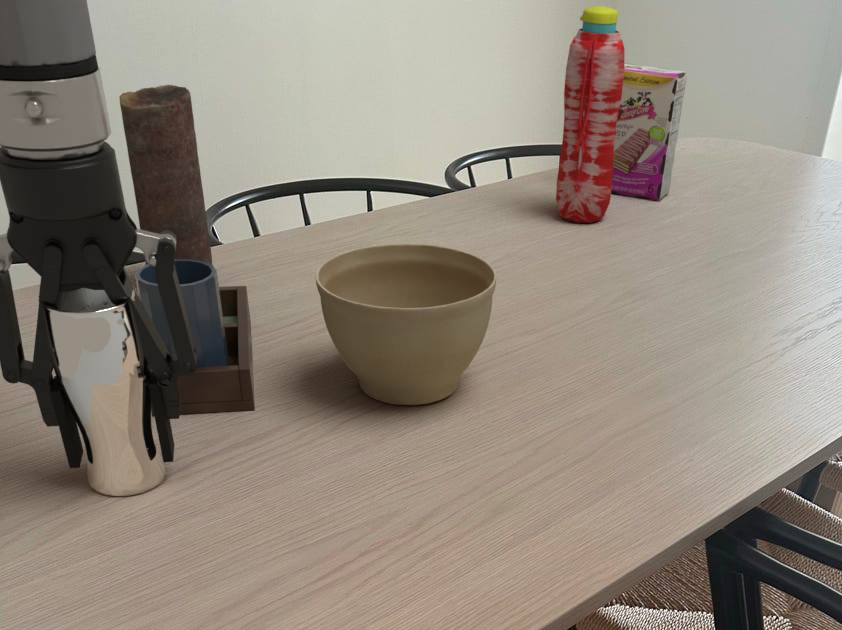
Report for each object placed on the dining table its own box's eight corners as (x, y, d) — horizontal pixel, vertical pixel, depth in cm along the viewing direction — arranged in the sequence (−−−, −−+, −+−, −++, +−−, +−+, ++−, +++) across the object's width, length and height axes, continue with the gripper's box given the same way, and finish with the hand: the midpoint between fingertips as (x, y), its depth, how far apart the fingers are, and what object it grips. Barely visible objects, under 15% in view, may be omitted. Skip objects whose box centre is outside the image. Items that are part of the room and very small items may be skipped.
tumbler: (163, 400, 89) (143, 290, 83) (149, 370, 94) (129, 263, 87) (238, 388, 91) (223, 280, 85) (221, 359, 96) (206, 255, 90)
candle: (226, 290, 113) (200, 94, 100) (164, 302, 109) (129, 101, 97) (200, 270, 117) (172, 80, 105) (140, 281, 114) (103, 86, 101)
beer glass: (88, 506, 77) (40, 319, 67) (78, 464, 82) (31, 284, 72) (179, 490, 79) (144, 306, 70) (164, 450, 84) (129, 273, 75)
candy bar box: (588, 190, 148) (600, 66, 138) (600, 182, 152) (612, 60, 141) (660, 202, 145) (678, 75, 134) (670, 194, 148) (688, 69, 138)
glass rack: (132, 417, 89) (123, 375, 86) (146, 327, 104) (139, 289, 101) (254, 410, 90) (249, 368, 88) (250, 322, 106) (246, 285, 103)
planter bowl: (327, 351, 101) (319, 241, 94) (485, 351, 102) (488, 243, 95) (319, 425, 89) (309, 305, 82) (498, 424, 90) (504, 306, 83)
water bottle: (569, 199, 144) (586, -3, 128) (622, 207, 142) (646, 2, 126) (542, 222, 136) (557, 8, 120) (598, 231, 134) (621, 14, 118)
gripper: (-123, 162, 60) (-14, 489, 75) (204, 156, 63) (246, 471, 78) (-93, 132, 66) (3, 442, 81) (206, 128, 69) (245, 427, 84)
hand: (123, 456), depth 79 cm, fingers closed on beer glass, 6 cm apart
